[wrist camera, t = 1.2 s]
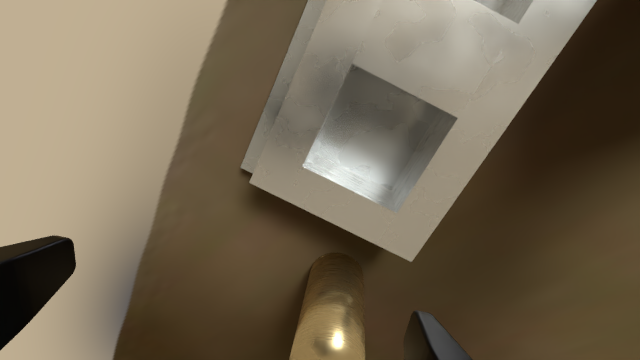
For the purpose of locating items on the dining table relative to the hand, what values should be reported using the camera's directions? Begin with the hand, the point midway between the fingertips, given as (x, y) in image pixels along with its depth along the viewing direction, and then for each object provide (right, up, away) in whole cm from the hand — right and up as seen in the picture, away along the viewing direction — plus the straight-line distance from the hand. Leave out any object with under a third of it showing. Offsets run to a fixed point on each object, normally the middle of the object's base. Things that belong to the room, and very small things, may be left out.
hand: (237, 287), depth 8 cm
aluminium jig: (+8, +10, +10) cm, 16 cm away
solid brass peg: (+3, -4, +16) cm, 17 cm away
